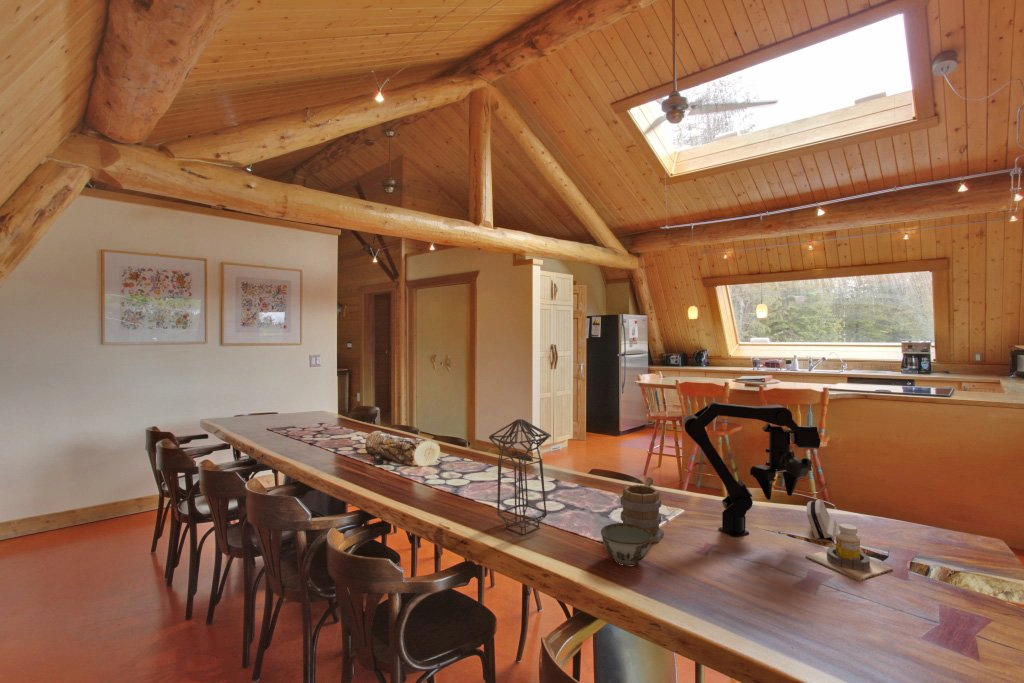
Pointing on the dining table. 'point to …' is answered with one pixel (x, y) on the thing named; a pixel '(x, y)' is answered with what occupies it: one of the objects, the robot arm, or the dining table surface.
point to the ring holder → (850, 564)
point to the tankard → (642, 508)
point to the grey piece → (820, 520)
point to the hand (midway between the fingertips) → (779, 497)
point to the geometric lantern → (520, 468)
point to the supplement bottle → (848, 542)
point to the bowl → (626, 542)
